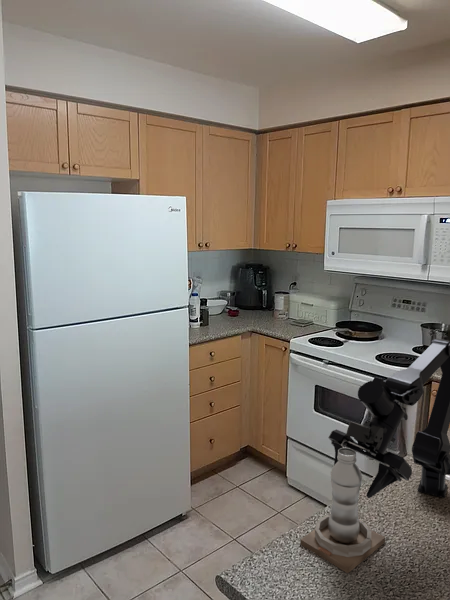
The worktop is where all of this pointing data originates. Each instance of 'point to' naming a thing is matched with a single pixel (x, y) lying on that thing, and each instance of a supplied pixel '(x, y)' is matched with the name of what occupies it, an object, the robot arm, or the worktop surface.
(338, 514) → the silver bottle
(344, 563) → the square coaster with ring
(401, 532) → the worktop surface
